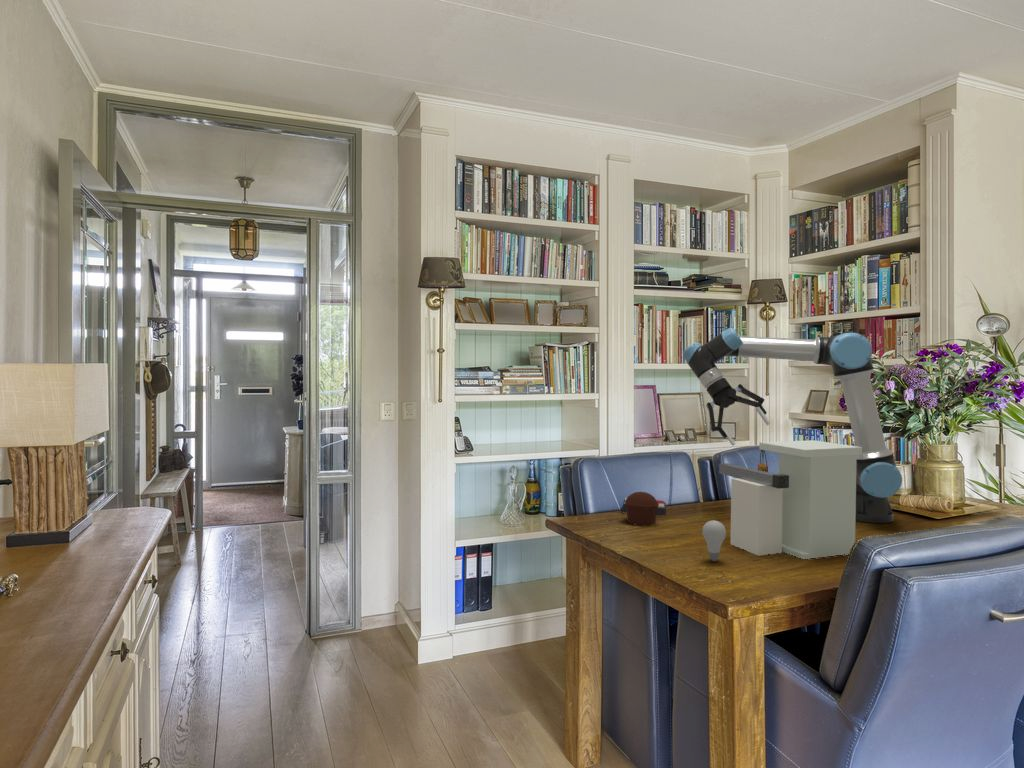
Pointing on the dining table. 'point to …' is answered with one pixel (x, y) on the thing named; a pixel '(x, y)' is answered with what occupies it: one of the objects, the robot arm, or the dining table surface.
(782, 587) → the dining table surface
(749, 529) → the post
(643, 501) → the muffin
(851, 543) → the stand
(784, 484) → the rod
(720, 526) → the lightbulb
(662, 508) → the red and black box
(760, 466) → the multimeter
